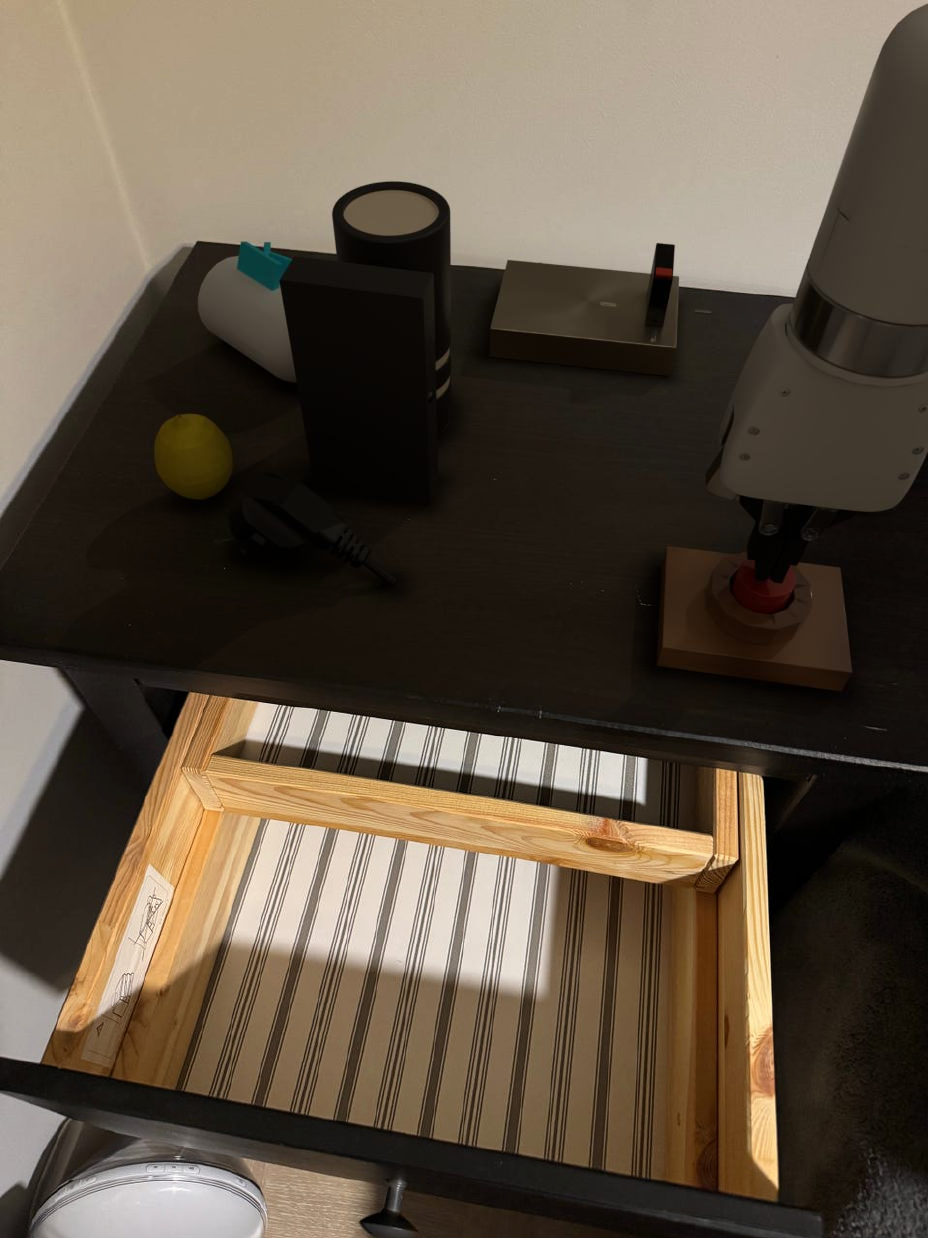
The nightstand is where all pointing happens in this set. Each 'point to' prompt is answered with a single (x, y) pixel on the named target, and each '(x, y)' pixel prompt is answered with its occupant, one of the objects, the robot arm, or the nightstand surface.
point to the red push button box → (751, 623)
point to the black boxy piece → (660, 284)
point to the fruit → (193, 456)
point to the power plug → (293, 523)
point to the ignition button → (761, 589)
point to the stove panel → (582, 319)
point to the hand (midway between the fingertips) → (767, 564)
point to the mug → (250, 307)
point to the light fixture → (376, 343)
